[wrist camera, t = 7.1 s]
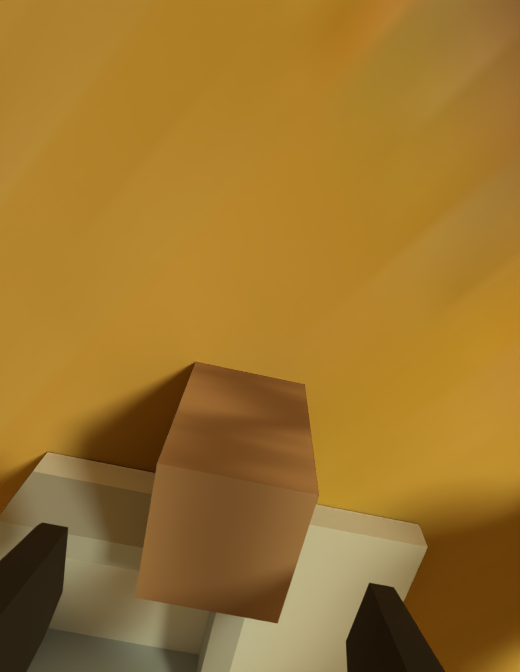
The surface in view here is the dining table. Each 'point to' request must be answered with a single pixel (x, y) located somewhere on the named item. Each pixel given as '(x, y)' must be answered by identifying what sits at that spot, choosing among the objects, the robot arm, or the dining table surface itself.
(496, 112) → the dining table surface
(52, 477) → the chassis
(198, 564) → the walnut block
